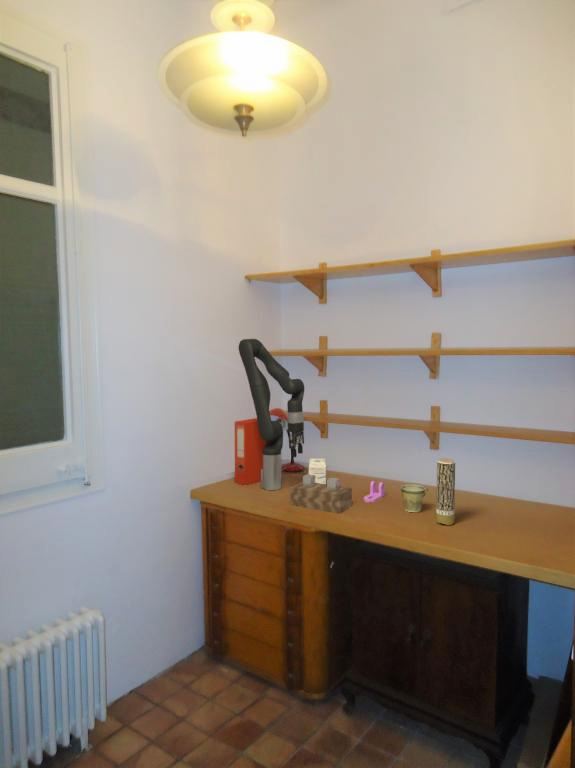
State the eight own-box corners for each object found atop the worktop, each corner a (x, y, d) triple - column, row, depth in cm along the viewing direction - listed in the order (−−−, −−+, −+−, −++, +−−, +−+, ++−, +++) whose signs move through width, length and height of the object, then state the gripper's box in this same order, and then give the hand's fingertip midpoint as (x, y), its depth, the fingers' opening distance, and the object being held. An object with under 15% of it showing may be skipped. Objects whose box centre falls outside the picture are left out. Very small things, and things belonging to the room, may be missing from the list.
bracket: (373, 494, 247) (373, 480, 247) (384, 496, 244) (384, 481, 244) (361, 501, 236) (361, 486, 236) (372, 503, 233) (372, 488, 233)
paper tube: (434, 520, 210) (435, 458, 208) (451, 520, 210) (452, 458, 208) (438, 526, 203) (439, 462, 202) (456, 526, 203) (457, 462, 201)
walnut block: (290, 504, 232) (290, 487, 231) (303, 498, 242) (303, 481, 241) (339, 513, 219) (340, 494, 219) (351, 505, 229) (351, 488, 229)
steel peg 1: (302, 491, 233) (302, 476, 232) (307, 489, 236) (307, 474, 235) (310, 492, 230) (310, 477, 230) (315, 490, 234) (315, 475, 233)
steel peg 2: (327, 495, 226) (327, 479, 226) (331, 493, 230) (331, 477, 229) (335, 496, 224) (335, 480, 224) (339, 494, 228) (339, 478, 227)
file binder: (269, 479, 276) (268, 419, 274) (246, 486, 263) (245, 422, 261) (258, 476, 282) (257, 417, 279) (235, 483, 269) (234, 421, 266)
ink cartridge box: (308, 490, 255) (308, 460, 254) (308, 487, 260) (308, 458, 259) (325, 490, 255) (325, 460, 253) (326, 487, 259) (326, 458, 258)
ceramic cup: (410, 515, 216) (411, 492, 215) (395, 509, 225) (396, 486, 224) (435, 511, 221) (435, 488, 220) (420, 505, 230) (420, 482, 229)
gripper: (293, 419, 255) (295, 452, 256) (282, 423, 242) (284, 458, 243) (308, 419, 252) (309, 452, 253) (297, 423, 239) (299, 458, 240)
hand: (297, 455), depth 248 cm, fingers open, 8 cm apart
